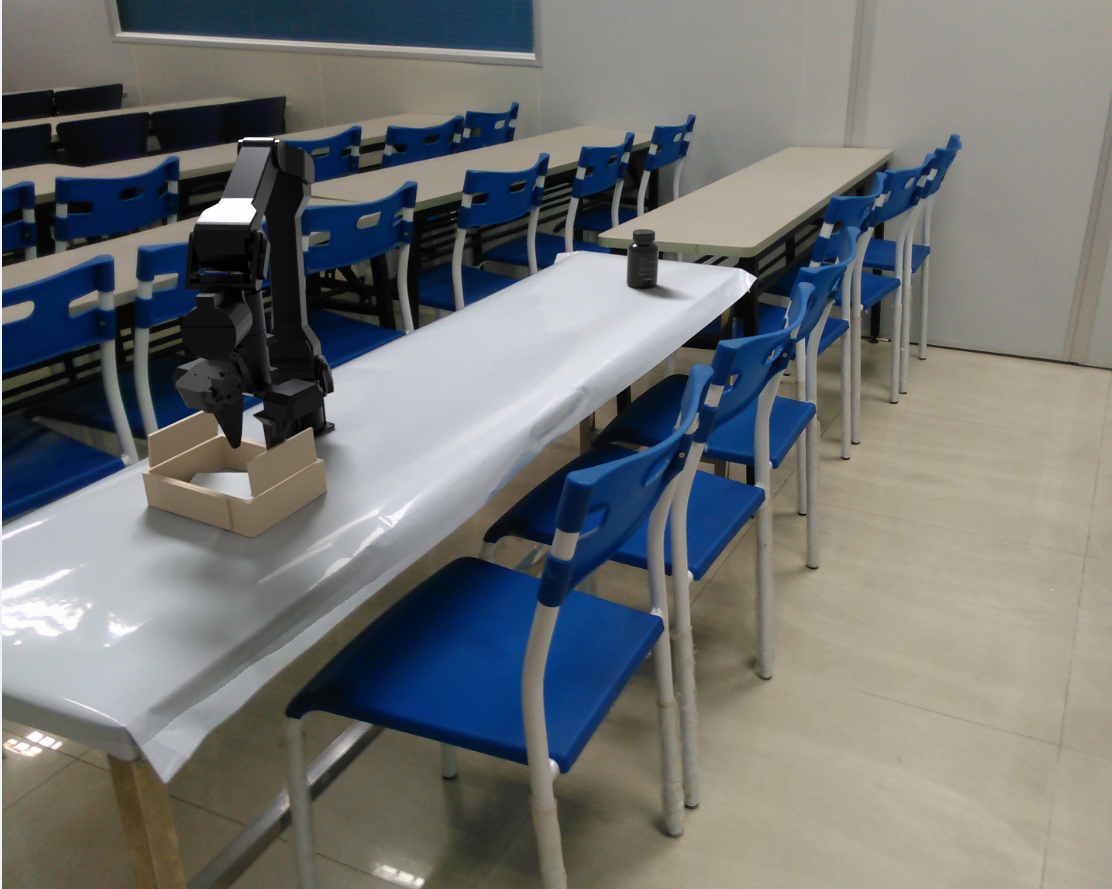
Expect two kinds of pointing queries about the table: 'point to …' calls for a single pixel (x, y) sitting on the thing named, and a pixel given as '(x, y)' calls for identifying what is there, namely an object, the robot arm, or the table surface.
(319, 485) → the carton
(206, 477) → the external hard drive
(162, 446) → the flap
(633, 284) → the supplement bottle
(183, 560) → the table surface
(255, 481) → the flap
